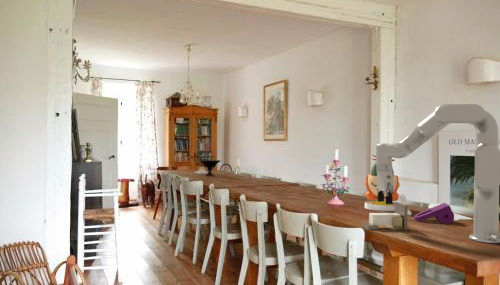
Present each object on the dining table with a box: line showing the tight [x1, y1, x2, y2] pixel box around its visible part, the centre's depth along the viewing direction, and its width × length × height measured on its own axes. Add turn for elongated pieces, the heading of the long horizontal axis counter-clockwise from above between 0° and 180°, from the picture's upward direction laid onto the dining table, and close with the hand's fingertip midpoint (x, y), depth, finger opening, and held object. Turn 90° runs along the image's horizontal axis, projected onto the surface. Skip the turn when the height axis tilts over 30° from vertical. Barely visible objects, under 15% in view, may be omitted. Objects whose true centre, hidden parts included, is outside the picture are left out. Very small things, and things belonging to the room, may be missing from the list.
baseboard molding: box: [425, 207, 473, 222], centre depth 233 cm, size 31×3×12 cm
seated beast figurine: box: [398, 193, 413, 216], centre depth 236 cm, size 10×9×12 cm
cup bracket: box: [384, 201, 409, 231], centre depth 194 cm, size 11×7×12 cm, turn 4°
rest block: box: [361, 221, 379, 231], centre depth 194 cm, size 8×5×2 cm, turn 4°
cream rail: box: [368, 212, 401, 226], centre depth 194 cm, size 14×5×5 cm, turn 94°
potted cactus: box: [363, 154, 401, 212], centre depth 257 cm, size 22×22×35 cm
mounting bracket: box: [413, 202, 455, 225], centre depth 215 cm, size 10×9×19 cm
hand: (384, 202), depth 194 cm, fingers open, 9 cm apart
